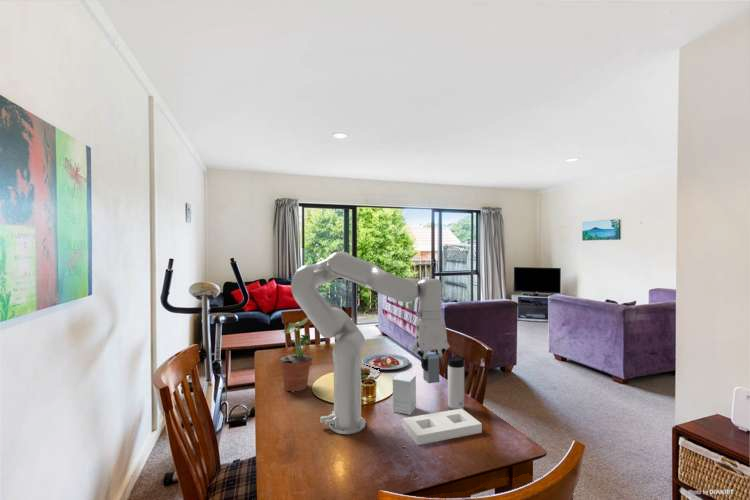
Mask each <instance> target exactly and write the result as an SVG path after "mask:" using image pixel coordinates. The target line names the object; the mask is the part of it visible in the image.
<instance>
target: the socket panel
mask: <svg viewBox="0 0 750 500" xmlns="http://www.w3.org/2000/svg"><path fill="white" fill-rule="evenodd" d="M401 426H402V428H403V430H404V431H405V432H406V433H407V435H408V436H409V437H410V438H411V440H412V441H413V442H414V443H415V444H416V445H417V446H420V445H425V444H426V445H427V444H432V443H436V442H439V441H440V442H441V441H445V440H446V441H447V440H451V439H455V438H462V437H466V436H471V435H472V436H473V435H477V434H482V433H483V432H482V431H483V425H482V423H481V422H480V421H479V420H478V419H476V418H475V417H474V416H472V415H471V414H470V413H469V412H467V411H466V410H465V409H456V410H451V409H449V410H444V411H438V412H431V413H425V414H421V415H414V416H408V417H403V418H402V425H401Z"/></svg>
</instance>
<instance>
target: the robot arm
mask: <svg viewBox="0 0 750 500" xmlns="http://www.w3.org/2000/svg"><path fill="white" fill-rule="evenodd" d="M339 278H342V279H344V280H347V281H350V282H353V283H356V284H357V285H360V286H363V287H365V288H367V289H369V290H372V291H374V292H375V293H378V294H380V295H382V296H385V297H387V298H390V299H394V300H396V301H399V302H401V303H411V302H413V301H414V300H416V299H418V300H419V301H418V308H419V309H418V312H415V317H418V318H417V321H416V328H415V342H414V344H413V345H412V347H411V351H413V352H415V353H416V354H417V355H418V356H419V357H420V363H421V365H420V367H421V368H422V370H423V369H424V370H425V371H428V359H426V357H427V353H428V352H430V351H434V352H435V353H436V354H438V355H439V370H441V366H442V357H443V355H444V354H445V352H446V351H447V350H448V349H450V344H449V342H448V335H447V326H446V321H445V319H444V318H442V317H443V316H442V313H443V312H442V310H443V309H442V282H441V280H440V279H438V278H422V279H421V278H415V277H400V276H398V275H396V274H393V273H390V272H388V271H385V270H384V269H382V268H380V267H379V266H378V265H377V264H375V263H373V262H370V261H368V260H364V259H362V258H358V257H355V256H354V255H352V254H351V253H349V252H346V251H335V252H333V253H332V254H330V255H329V256H328V258H326V259H324V260H321V261H319V262H317V263H313V264H312V263H311V264H305V265H302V266H301V267H299V268H298V269H297V270H296V271H295V272H294V274H293V275H292V277H291V282H290V290H291V294H292V297H293V298H294V300H295V302H296V304H298V306H299V307H300V308H301V309H302V311H303V312H304V314H305V315H306V316H307V317H308V318H309V319H308V320H309V321H310V322H311V323H312V325H313V326H314V327H315V328H316V331H318V333H319V334H320V335H321V336H322V337H323V338H326V339H332V338H334V339H335V340H336V341H335V343H334V344H333V347H332V355H331V357H332V364H333V410H332V411H331V413H330V414H329V415H321V416H320V417H319V419H320V423H324V424H325V426H326V425H327V426H329V429H330V430H331V431H332V432H334V433H336V434H339V435H352V434H357V433H359V432H361V431H362V430H363V429H365V427H366V419H365V418H364V417H363V416H362V368H361V367H362V365H361V354H362V352H363V351H364V349H365V346H366V340H365V336H364V335H363V333H362V332H361V330H360V329H359V327H358V326H357V325H356V324H355V323H354V321H353V319H351V317H350V316H349V315H348V313H347V312H345V311H344V310H343V309H342V308H339V307H332V306H331V305H330V304H329V303H328V301H327V300H326V298H325V297H324V296H323V295H322V294H321V293H320V292H319V291H318V290H317V287H321V286H323V285H325V284H327V283H329V282H332V281H335V280H336V279H339ZM307 317H306V318H307ZM419 349H420V350H419Z"/></svg>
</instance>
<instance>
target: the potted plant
mask: <svg viewBox="0 0 750 500" xmlns="http://www.w3.org/2000/svg"><path fill="white" fill-rule="evenodd" d="M309 320H310V319H309V318H308V317H305V318H303V320H301V321H297V322H294V323H292V322H290V321H289V323H288V326H287V327H286V329H285V330H283V329H282V330H281V331H282V332H283V334H286V335H288V334H290V333H293V332H294V335H295V336H296V338H294V339H288V342H289V344H292V343H293V342H294V348H295V349H294V351H295V353H292V354H288V355H284V356H282V357H280V358H279V367H280V368H281V372H282V373H281V374H282V381H283V388H284V390H285V391H286V390H287V391H301V390H303V391H304V390H306V389H307V387H308V383H309V374H310V367H311V366H312V364H313V356H311V354H305V351H306V348H305V347H307V346H306V345H308V346H309V344H310V343H311V342H312V341H311V340H310V339H309V338H310V335H309V334H301V333H300V331H301V330H302V326H304V325H305V324H306V323H307V322H308V321H309ZM297 331H298V332H297ZM297 333H298V334H299V335H298V334H297ZM298 336H299V338H298ZM287 391H286V392H287ZM301 392H302V391H301Z"/></svg>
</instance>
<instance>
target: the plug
mask: <svg viewBox="0 0 750 500" xmlns="http://www.w3.org/2000/svg"><path fill="white" fill-rule="evenodd" d="M426 359H428V371H425V370H424V369H422V370H423V371H422V376H423V378H422V379H423V380H424V381H425V382H426V383H427V384H435V383H439V382H440V369H439V355H438V354H436V353H435V351H427V357H426Z"/></svg>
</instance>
